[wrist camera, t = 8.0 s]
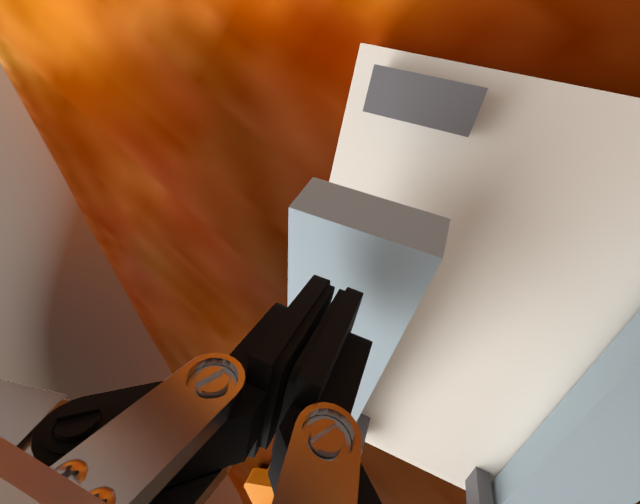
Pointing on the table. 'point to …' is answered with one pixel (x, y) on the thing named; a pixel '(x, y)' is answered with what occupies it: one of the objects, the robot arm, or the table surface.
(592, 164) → the board
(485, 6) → the table surface
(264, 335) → the robot arm
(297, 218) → the lever
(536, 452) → the lever
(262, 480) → the bracket
